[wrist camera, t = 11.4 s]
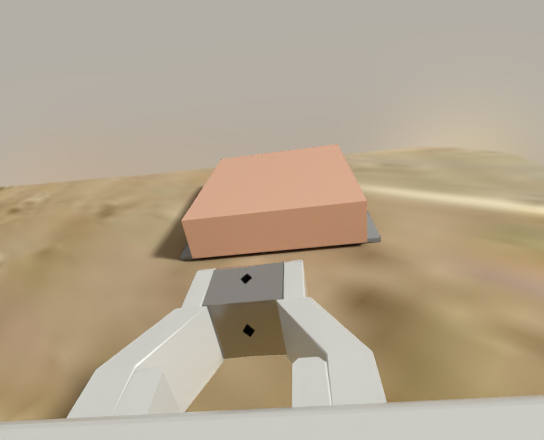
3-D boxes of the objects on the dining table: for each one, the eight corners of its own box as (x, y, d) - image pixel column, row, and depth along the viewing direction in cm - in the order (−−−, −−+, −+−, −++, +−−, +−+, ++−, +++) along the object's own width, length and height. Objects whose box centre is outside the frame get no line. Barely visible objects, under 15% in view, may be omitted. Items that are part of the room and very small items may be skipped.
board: (366, 200, 20) (337, 144, 32) (181, 220, 21) (221, 159, 34) (367, 242, 21) (339, 172, 34) (192, 258, 23) (227, 185, 35)
